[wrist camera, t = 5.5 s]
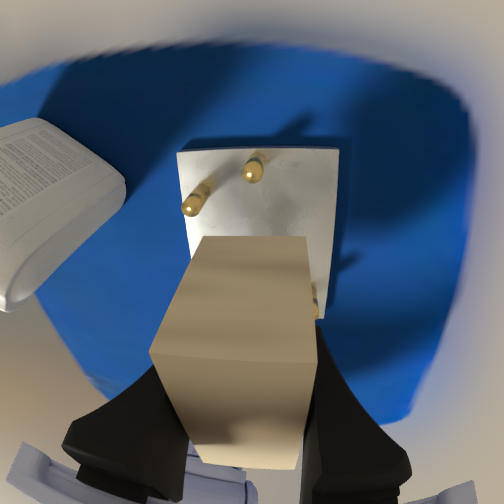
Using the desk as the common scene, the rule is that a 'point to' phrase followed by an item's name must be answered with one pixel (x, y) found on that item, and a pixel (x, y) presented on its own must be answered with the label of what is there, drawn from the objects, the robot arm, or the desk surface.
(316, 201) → the plate
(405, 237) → the desk surface
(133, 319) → the desk surface
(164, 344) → the board
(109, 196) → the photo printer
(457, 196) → the desk surface
